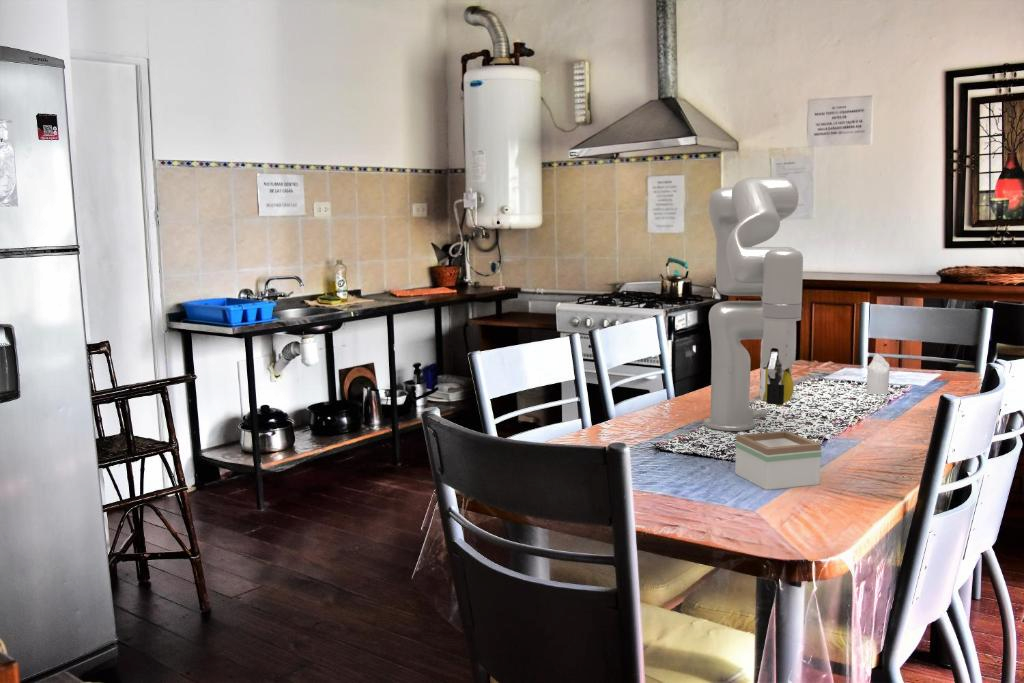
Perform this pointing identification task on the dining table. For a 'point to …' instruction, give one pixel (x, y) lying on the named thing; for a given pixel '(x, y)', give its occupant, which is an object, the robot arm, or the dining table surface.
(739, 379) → the robot arm
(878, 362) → the white pointed cylinder
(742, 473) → the stand
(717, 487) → the dining table surface
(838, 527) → the dining table surface
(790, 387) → the lemon
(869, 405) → the dining table surface
